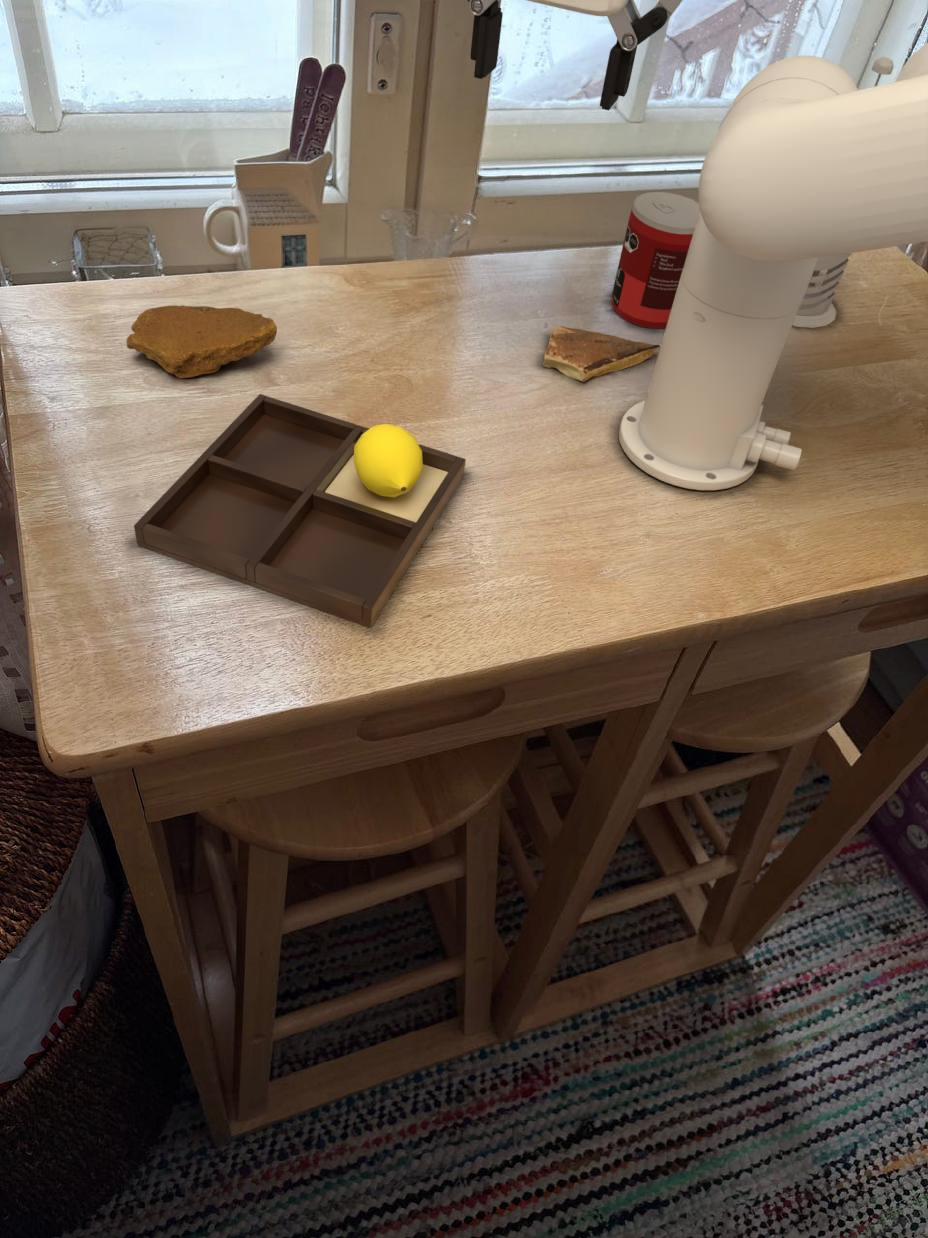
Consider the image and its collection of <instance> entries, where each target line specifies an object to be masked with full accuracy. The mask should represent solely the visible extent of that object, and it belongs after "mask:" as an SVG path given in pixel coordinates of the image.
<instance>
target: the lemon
mask: <svg viewBox="0 0 928 1238" xmlns="http://www.w3.org/2000/svg"><path fill="white" fill-rule="evenodd" d="M418 444H419V443H418V441H417V439H416V437H415V436H414V435H412V434H411V433H410V432H409V431H407V430H406V429H405V428H404V427H402V426H399V425H395V424H390V423H383V424H377V425H372V427H370V429H369V430H367V431H366V432H365V433H363V434H362V435H361V437H360V438H359V440H358V441H357V443H356V444H355V446H354V460H353V462H354V465H355V468H356V471H357V475H358V478H359V479H360V480H361V481H362V483H363V484H364V485H365V486H366V488H367V489H368V490H370V491H372V492H374V493H376V494H378V495H380V496H387V497H397V496H399V495H401V494H404V493H406V492H409V491H410V489H411V488H412V487H413V486H414V484H415V483H416V482H417V481H418V479H419V477H420V474H421V471H422V468H423V460H422V450H421V449H420V447H419V445H418Z"/></svg>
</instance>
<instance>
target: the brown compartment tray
mask: <svg viewBox="0 0 928 1238" xmlns="http://www.w3.org/2000/svg"><path fill="white" fill-rule="evenodd" d="M370 428H371V427H370ZM370 428H369V427H366V426H363V425H359V424H356V423H353V422H350V421H347V420H344V419H341V418H337V417H334V416H332V415H331V416H330V415H328V414H324V413H321V412H318V411H316V410H312V409H309V408H305V407H302V406H299V405H296V404H292V403H291V402H287V401H284V400H280V399H277V398H274V397H271V396H267V395H265V394H261V393H259V394H258V395H257V396H256V397H255V399H254V400H253V401H252V402H251V403H249V404H248V406H246V408H245V409H244V410H243V411H241V413H240V414H239V415H238V416H237V417H236V418H235V419H234V420H233V421H232V422H231V424H229V426H228V427H226V428H225V430H224V431H223V432H222V433H221V434H220V435H219V436H218V437H217V438H216V439H215V440H214V441H213V442H212V443H211V444H210V445H209V446H208V448H206V449H205V450H204V452H202V454H201V455H199V457H198V458H197V459H196V460H195V461H194V462H193V463H192V464H191V465H190V466H189V467H188V468H187V469H186V470H185V471H184V472H183V474H181V475H180V477H178V479H177V480H176V481H174V483H172V485H171V486H170V487H169V488H168V489H167V490H166V491H165V492H164V493H163V494H162V495H161V497H160V498H159V499H158V500H157V501H156V502H155V503H154V504H153V505H152V506H151V507H150V508H149V509H148V510H147V511H146V512H145V513H144V514H143V515H142V516H141V517H140V518H139V520H137V521H136V523H135V524H134V525H133V529H134V533H135V539H136V545H137V546H138V547H141V548H143V549H146V550H149V551H152V552H155V553H158V554H161V555H163V556H166V557H168V558H172V559H173V560H174V559H175V560H177V561H180V562H183V563H186V564H189V565H191V566H194V567H197V568H200V569H202V570H206V571H209V572H211V573H215V574H216V575H219V576H223V577H226V578H228V579H231V580H234V581H237V582H240V583H243V584H245V585H248V586H251V587H254V588H256V589H259V590H262V591H265V592H268V593H271V594H273V595H276V596H279V597H282V598H284V599H288V600H290V601H293V602H296V603H299V604H302V605H305V606H307V607H310V608H313V609H316V610H318V611H322V612H324V613H328V614H330V615H333V616H336V617H339V618H342V619H343V620H347V621H350V622H352V623H355V624H359V625H361V626H364V627H367V628H370V629H371V628H372V626H373V625H374V623H375V622H376V620H377V619H378V617H379V615H380V614H381V612H382V611H383V609H384V607H385V606H386V604H387V602H388V601H389V600H390V597H391V596H392V594H393V593H394V591H395V589H396V588H397V586H398V585H399V583H400V581H401V580H402V578H403V576H404V575H405V573H406V572H407V570H408V568H409V567H410V565H411V563H412V562H413V560H414V559H415V557H416V555H417V554H418V552H419V550H420V548H421V547H422V545H423V544H424V542H425V541H426V539H427V538H428V536H429V534H430V532H431V531H432V530H433V528H434V526H435V525H436V523H437V521H438V520H439V518H440V516H441V515H442V513H443V512H444V510H445V508H446V507H447V505H448V503H449V501H450V500H451V498H452V497H453V495H454V493H455V492H456V491H457V489H458V487H459V486H460V484H461V482H462V480H463V479H464V476H465V468H466V467H465V466H466V461H467V460H466V458H464V457H461V456H458V455H455V454H451V453H448V452H445V451H442V450H439V449H437V448H436V449H435V448H433V447H429V446H426V445H423V444H420V443H418V445H419V447H420V449H421V450H422V460H423V468H422V471H421V474H420V477H419V479H418V481H417V482H416V483H415V484H414V486H413V487H412V488H411V489H410V491H409V492H406V493H404V494H401V495H399V496H397V497H387V496H380V495H378V494H376V493H374V492H372V491H370V490H368V489H367V488H366V486H365V485H364V484H363V483H362V481H361V480H360V479H359V478H358V475H357V471H356V468H355V465H354V462H353V460H354V446H355V444H356V443H357V441H358V440H359V438H360V437H361V435H362V434H363V433H365V432H366V431H367V430H369V429H370Z"/></svg>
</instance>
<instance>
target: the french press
mask: <svg viewBox="0 0 928 1238" xmlns="http://www.w3.org/2000/svg"><path fill="white" fill-rule="evenodd" d="M894 67H895V66H894V61H893V59H891V58H889V57H887V56H881V57H879V58H876V60H875V61H873V65H872V67H871V71H872V72H874V73H876V74H878V75H877V78H876V81H875V83H874V86H873V87H876V86H878V84H879V81H880V79H881V77H882V75H885V76H888V75H892V73H893V70H894ZM851 255H852V253H846V254H839V255H832V256H824V257H819V259H818V261H817V264H816V266H815V269H814V272H813V274H812V277H811V280H810V282H809V285H808V287H807V290H806V292H805V295H804V298H803V300H802V303H801V305H800V307H799V309H798V312H797V314H796V317H795V319H794V322H793V325H792V327H796V328H811V329H814V328H820V327H825V326H828V325H830V324H831V323H832V322H833V321H835V320H836V315H837V310H836V308H835V306H834V304H833V300H834V297H835V296H836V291H837V290H838V288H839V285H840V283H841V282H840V280H842V279H843V275H844V273H845V270H844V269H846V268H847V265H848V263H849V261H850V259H849V258H850V257H851ZM821 271H826V273H825V274H824V275H820V274H821ZM816 283H821V285H820V286H816Z"/></svg>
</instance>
